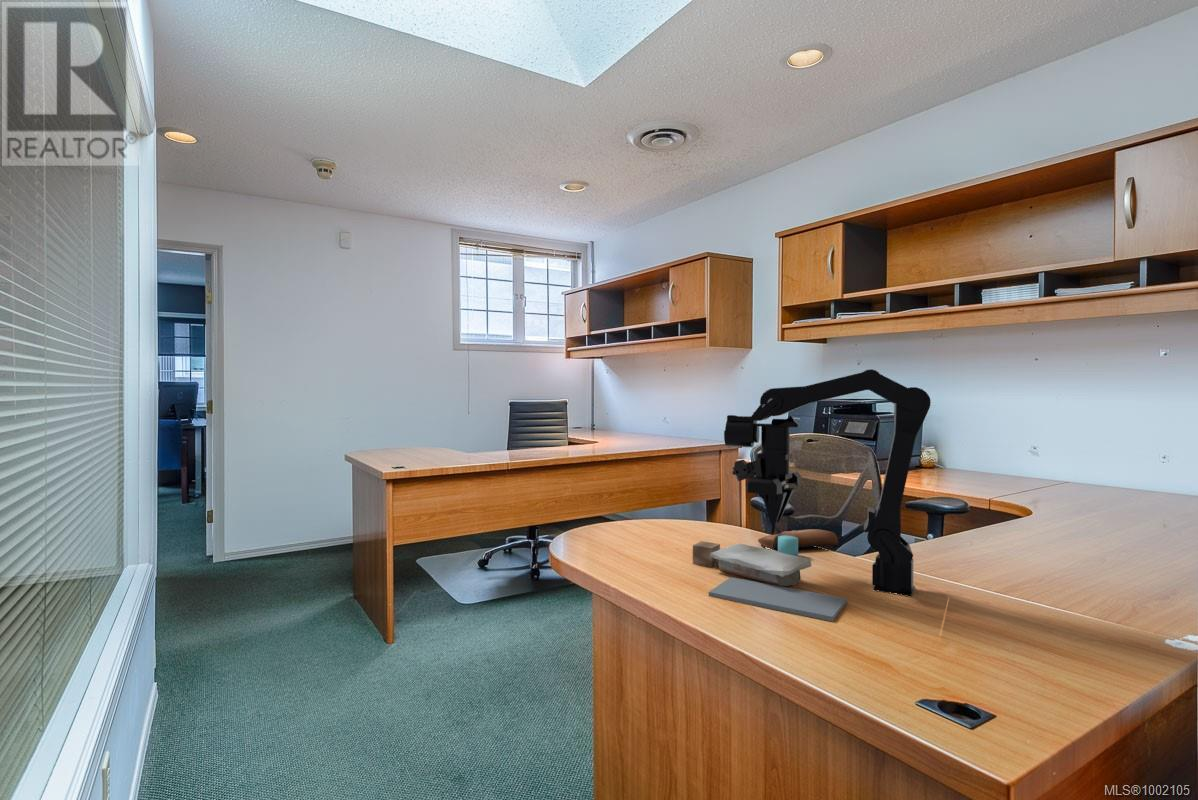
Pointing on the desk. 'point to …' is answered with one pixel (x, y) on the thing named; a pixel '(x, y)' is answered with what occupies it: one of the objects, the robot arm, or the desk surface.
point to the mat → (780, 598)
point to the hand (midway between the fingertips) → (774, 522)
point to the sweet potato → (802, 538)
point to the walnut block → (704, 553)
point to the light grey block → (761, 564)
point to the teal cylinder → (788, 545)
